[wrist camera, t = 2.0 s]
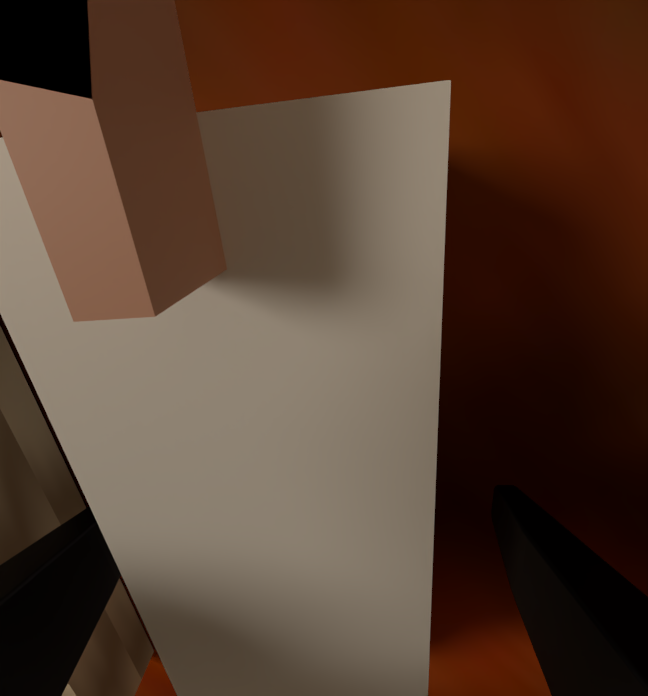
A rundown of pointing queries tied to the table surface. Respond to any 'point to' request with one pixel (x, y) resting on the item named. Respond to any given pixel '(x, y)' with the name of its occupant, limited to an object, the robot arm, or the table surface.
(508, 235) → the table surface
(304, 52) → the table surface
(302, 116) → the white bar with tab
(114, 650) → the cradle
